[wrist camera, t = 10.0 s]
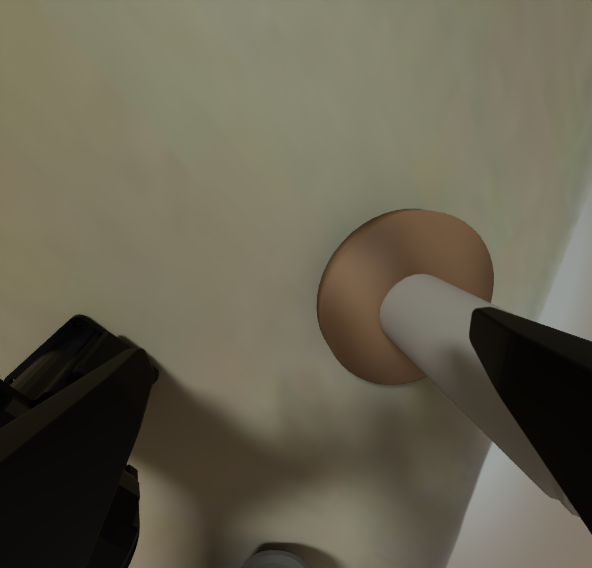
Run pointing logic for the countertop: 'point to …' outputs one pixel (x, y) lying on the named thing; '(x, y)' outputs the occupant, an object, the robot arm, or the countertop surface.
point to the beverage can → (458, 364)
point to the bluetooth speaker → (274, 560)
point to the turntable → (384, 275)
